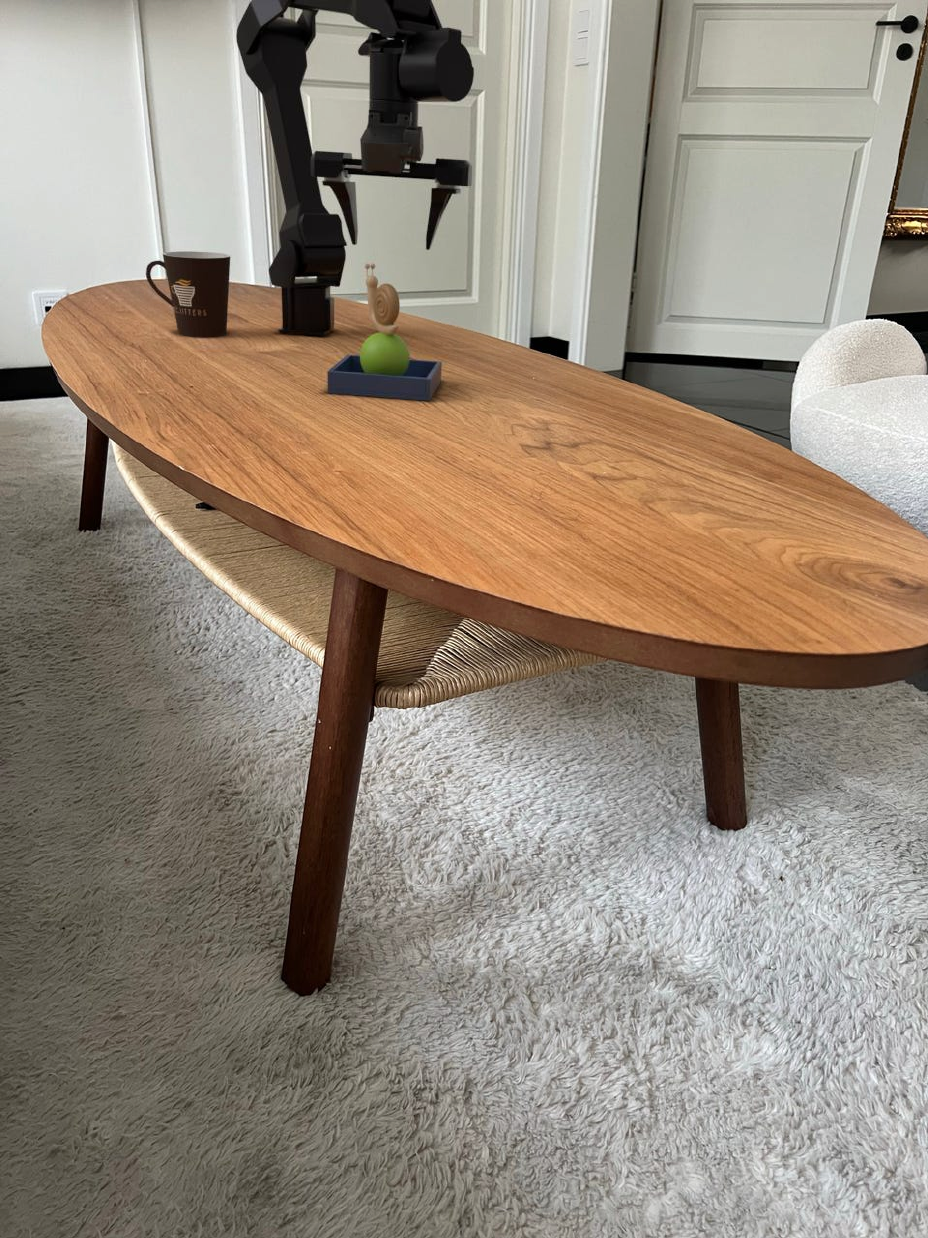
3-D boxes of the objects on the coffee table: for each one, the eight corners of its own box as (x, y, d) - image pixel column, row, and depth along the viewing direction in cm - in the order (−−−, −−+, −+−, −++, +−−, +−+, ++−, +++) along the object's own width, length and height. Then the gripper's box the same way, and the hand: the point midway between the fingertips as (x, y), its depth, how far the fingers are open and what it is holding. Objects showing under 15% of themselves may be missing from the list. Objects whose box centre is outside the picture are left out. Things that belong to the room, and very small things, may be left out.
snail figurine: (388, 373, 104) (390, 263, 99) (418, 385, 100) (422, 269, 94) (346, 377, 101) (346, 263, 96) (375, 389, 97) (376, 270, 91)
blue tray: (327, 393, 96) (327, 371, 95) (347, 374, 105) (347, 354, 104) (429, 401, 96) (430, 379, 95) (440, 381, 104) (441, 361, 103)
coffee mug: (247, 335, 124) (243, 257, 120) (192, 340, 118) (185, 258, 114) (200, 322, 131) (194, 248, 126) (145, 327, 125) (138, 249, 121)
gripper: (296, 91, 98) (300, 246, 105) (467, 101, 97) (459, 257, 104) (321, 99, 108) (323, 240, 115) (476, 108, 107) (468, 250, 114)
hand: (391, 246), depth 112 cm, fingers open, 9 cm apart
